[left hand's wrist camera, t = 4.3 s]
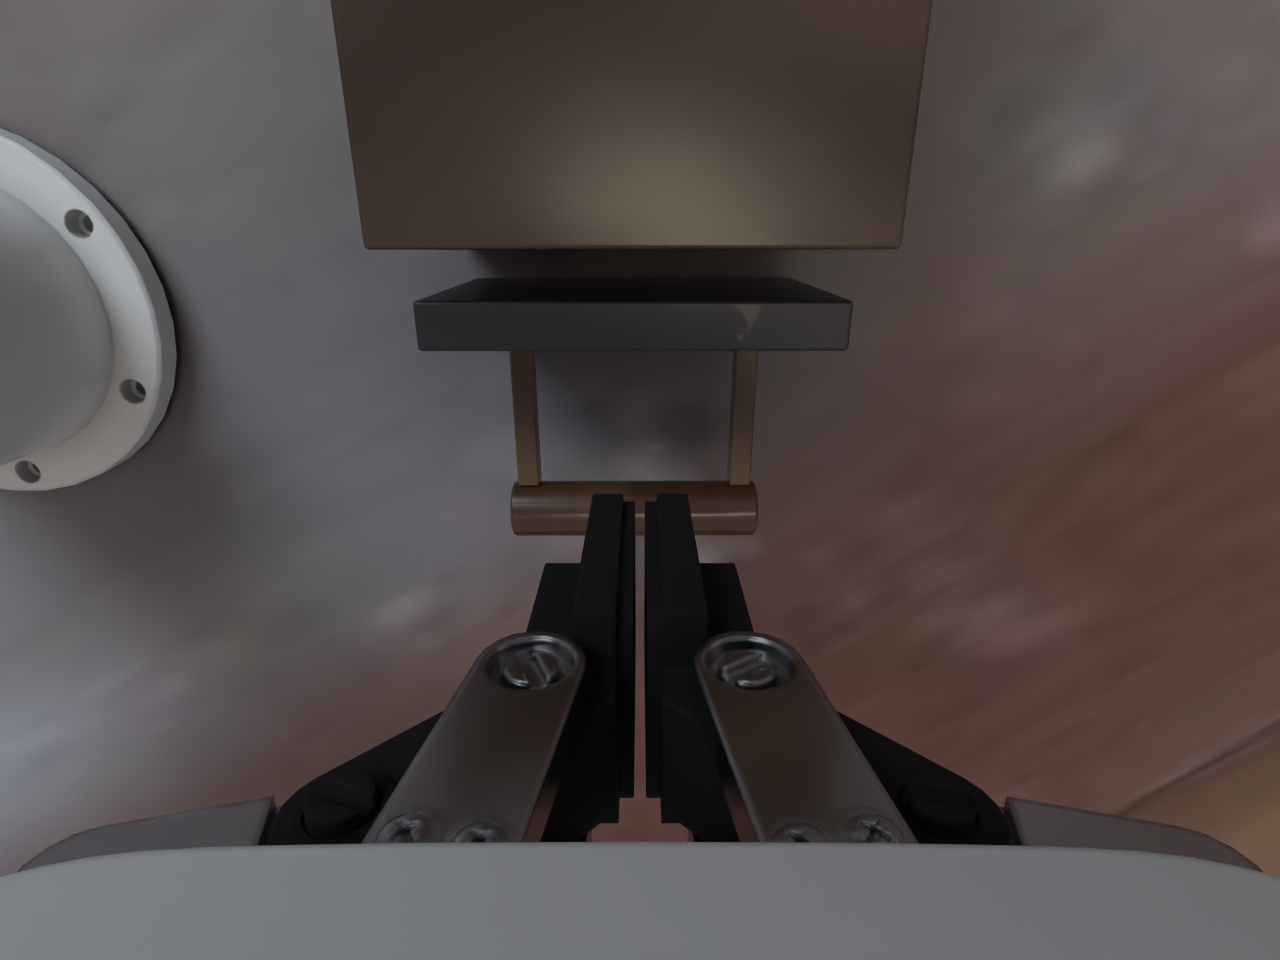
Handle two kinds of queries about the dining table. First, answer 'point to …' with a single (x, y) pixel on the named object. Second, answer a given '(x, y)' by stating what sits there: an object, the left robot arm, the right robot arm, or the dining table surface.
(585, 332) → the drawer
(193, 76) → the dining table surface
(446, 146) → the dark wooden block
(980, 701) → the dining table surface
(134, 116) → the dining table surface
